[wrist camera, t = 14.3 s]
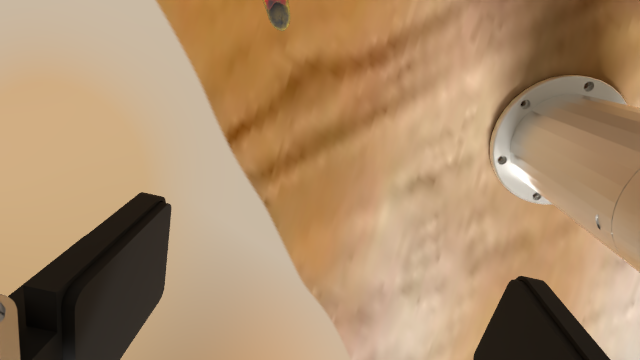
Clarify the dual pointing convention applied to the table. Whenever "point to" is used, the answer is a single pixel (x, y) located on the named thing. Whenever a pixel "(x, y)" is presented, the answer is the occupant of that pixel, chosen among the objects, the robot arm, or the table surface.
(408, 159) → the table surface
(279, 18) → the magic lamp
